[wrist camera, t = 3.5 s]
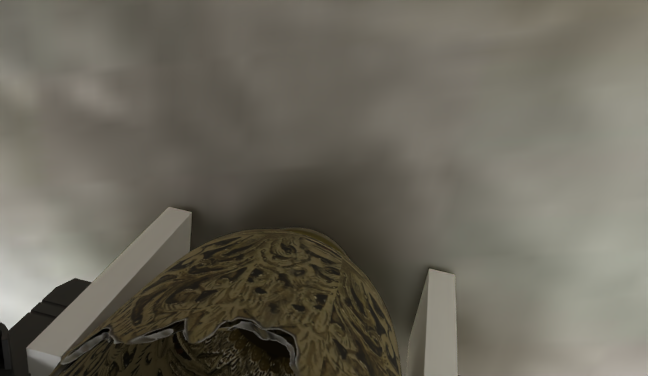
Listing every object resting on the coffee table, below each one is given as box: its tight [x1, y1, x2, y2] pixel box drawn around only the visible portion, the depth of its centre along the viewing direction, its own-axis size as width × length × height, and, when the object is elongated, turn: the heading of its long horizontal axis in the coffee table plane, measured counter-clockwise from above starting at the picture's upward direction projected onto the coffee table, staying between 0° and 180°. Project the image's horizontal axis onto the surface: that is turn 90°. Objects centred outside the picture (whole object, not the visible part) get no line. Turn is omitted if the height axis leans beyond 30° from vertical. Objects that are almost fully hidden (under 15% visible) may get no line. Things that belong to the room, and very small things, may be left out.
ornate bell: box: [49, 227, 402, 376], centre depth 14 cm, size 8×7×8 cm
